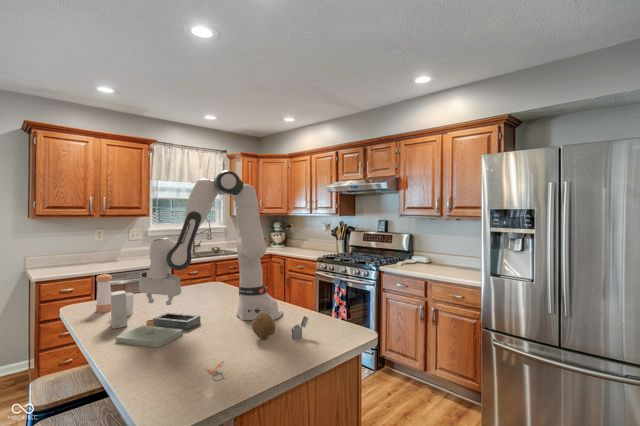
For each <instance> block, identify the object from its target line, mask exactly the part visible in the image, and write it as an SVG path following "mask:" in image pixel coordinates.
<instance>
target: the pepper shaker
mask: <svg viewBox="0 0 640 426" xmlns="http://www.w3.org/2000/svg"><path fill="white" fill-rule="evenodd" d="M112 279H113V276H112V275H111V274H108V273H106V272H103V273H102V274H100V275H97V276H96V278H95V281H96V282H97V294H96V305H95V311H96V313H107V312H111V292H112V290H111V281H112Z"/></svg>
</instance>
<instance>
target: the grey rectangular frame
mask: <svg viewBox="0 0 640 426" xmlns="http://www.w3.org/2000/svg"><path fill="white" fill-rule="evenodd" d="M152 320H154V324H153V325H154V327H163V328H172V329H181V330H183V331H190V330H191V329H193V328H195V327H197V326H198V325H201V315H199V314H187V313H174V312H165V313H163V314H160V315H158V316H155V317H153V318H152Z"/></svg>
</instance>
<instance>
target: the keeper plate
mask: <svg viewBox="0 0 640 426" xmlns="http://www.w3.org/2000/svg"><path fill="white" fill-rule="evenodd" d="M145 322H146V325H143V324H142V325H141V326H138V327H136V328H134V329H131V330H129V331H127V332H125V333H122V334H120V335H118V336H115V343H117V344H118V343H119V344H127V345H136V346H141V347H142V346H143V347H149V348H150V347H151V348H160V347H162V346H164V345H167V344H168V343H169V342H172V341H174V340H175V339H177V338H179V337H181V336H183V335H184V330H181V329H172V328H163V327H154V325H153V324H154V320H153V319H149V320H146V321H145Z"/></svg>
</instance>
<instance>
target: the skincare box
mask: <svg viewBox="0 0 640 426" xmlns="http://www.w3.org/2000/svg"><path fill="white" fill-rule="evenodd" d="M126 293H127V292H126V291H125V290H117V291H111V311H110V316H111V317H110V318H111V327H112V329H118V328H119V329H120V328H125V327H126V328H127V327H128V316H127V307H126Z"/></svg>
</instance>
